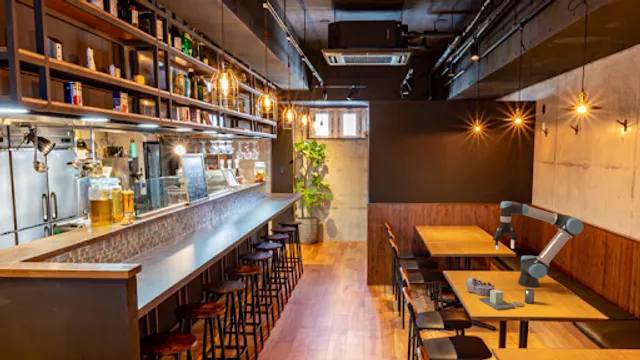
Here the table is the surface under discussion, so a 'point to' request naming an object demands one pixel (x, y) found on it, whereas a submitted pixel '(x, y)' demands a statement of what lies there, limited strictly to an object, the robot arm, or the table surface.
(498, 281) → the table surface
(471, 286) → the cell model
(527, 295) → the dark tin
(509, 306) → the slate board
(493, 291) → the sage block
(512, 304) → the cork coaster
